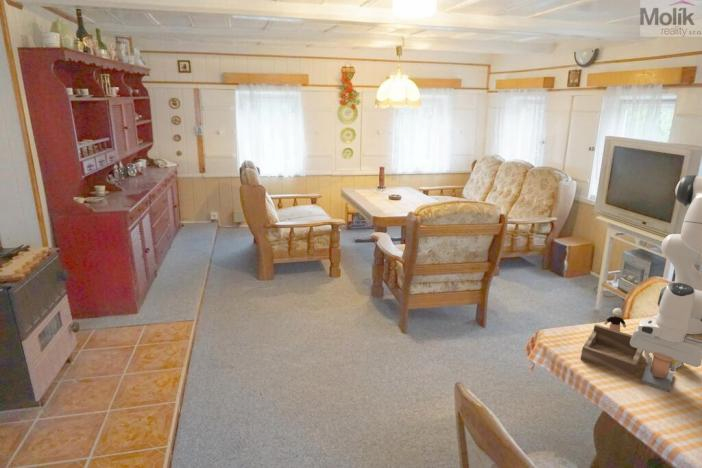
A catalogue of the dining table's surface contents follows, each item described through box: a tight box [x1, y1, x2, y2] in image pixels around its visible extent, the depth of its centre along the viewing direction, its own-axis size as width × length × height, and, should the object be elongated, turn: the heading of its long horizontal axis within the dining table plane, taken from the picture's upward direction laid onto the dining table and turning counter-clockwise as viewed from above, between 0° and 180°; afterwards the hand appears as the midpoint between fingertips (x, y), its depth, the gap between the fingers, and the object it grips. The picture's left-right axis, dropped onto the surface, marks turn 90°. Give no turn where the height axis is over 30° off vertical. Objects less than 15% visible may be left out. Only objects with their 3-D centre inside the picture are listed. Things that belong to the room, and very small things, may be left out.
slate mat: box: [640, 364, 675, 393], centre depth 156 cm, size 11×8×1 cm
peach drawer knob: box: [650, 353, 674, 378], centre depth 154 cm, size 6×6×8 cm
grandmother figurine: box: [603, 307, 627, 332], centre depth 179 cm, size 8×4×13 cm, turn 84°
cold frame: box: [580, 323, 644, 378], centre depth 167 cm, size 17×17×7 cm
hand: (660, 366), depth 154 cm, fingers closed on peach drawer knob, 5 cm apart
